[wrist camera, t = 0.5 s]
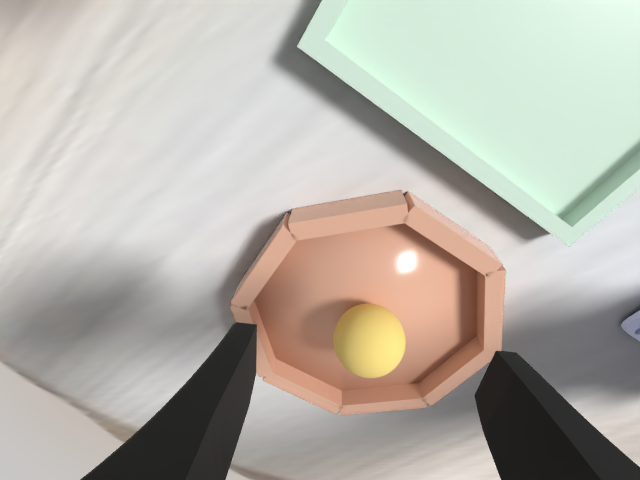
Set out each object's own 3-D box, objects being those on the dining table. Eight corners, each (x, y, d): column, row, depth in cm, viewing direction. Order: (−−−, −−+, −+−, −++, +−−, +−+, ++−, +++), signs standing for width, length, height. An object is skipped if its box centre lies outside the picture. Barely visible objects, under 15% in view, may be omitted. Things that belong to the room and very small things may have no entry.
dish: (546, 286, 20) (563, 305, 19) (385, 415, 27) (388, 438, 25) (334, 141, 17) (334, 150, 15) (207, 330, 23) (198, 350, 22)
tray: (807, 9, 14) (857, 5, 12) (552, 233, 19) (569, 246, 17) (520, -355, 10) (548, -416, 9) (300, 46, 15) (296, 46, 14)
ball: (413, 309, 21) (428, 362, 17) (372, 349, 23) (378, 404, 19) (359, 278, 20) (363, 327, 17) (321, 321, 22) (317, 374, 18)
